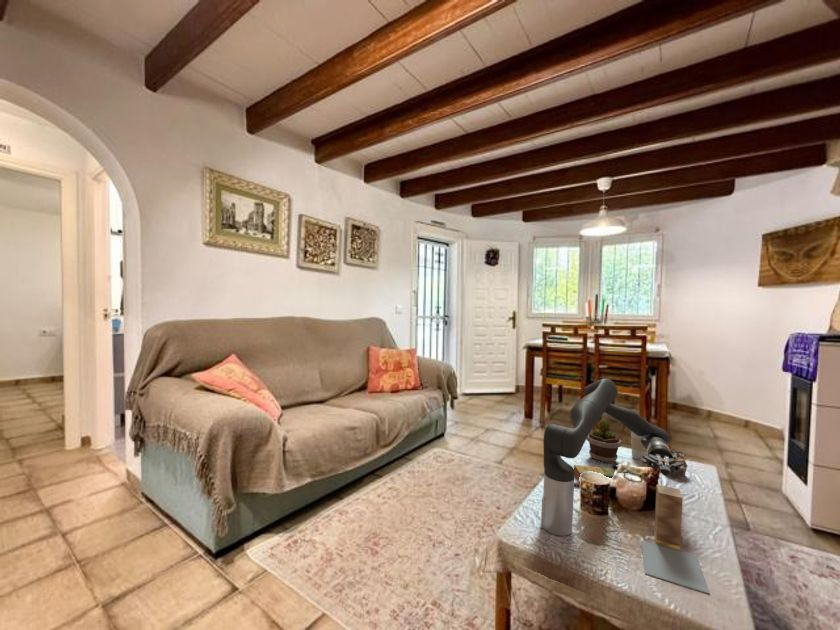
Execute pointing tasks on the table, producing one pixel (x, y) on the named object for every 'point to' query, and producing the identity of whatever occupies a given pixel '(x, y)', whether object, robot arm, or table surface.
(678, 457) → the cupcake
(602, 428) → the flowerpot
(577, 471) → the carton
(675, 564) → the slate mat
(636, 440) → the coffee cup
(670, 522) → the walnut block
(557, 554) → the table surface
